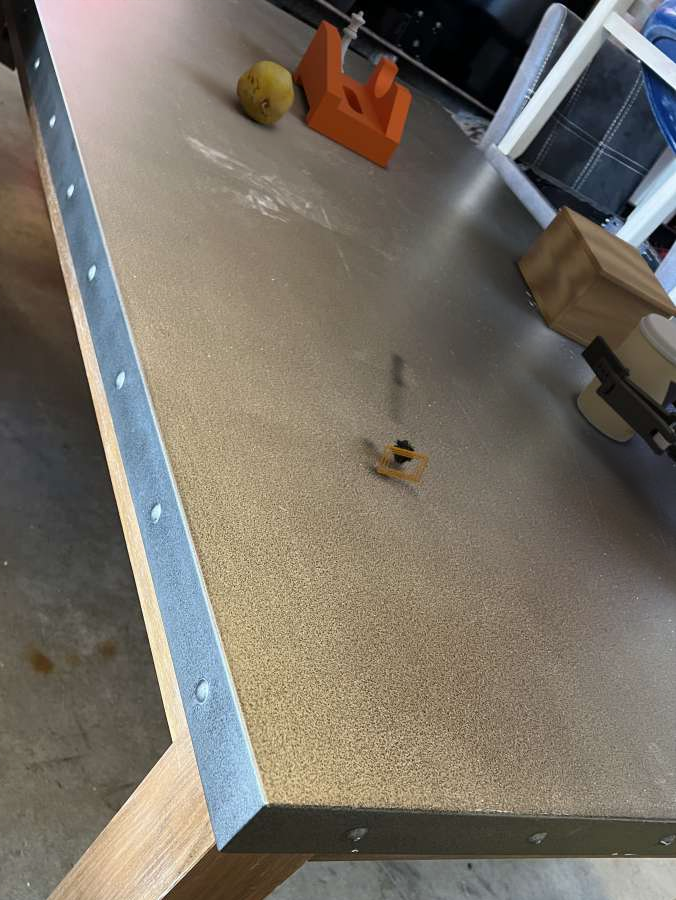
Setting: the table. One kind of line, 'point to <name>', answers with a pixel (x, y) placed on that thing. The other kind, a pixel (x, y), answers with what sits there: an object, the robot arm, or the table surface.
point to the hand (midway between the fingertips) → (629, 360)
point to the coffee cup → (637, 374)
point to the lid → (618, 261)
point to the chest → (579, 290)
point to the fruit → (266, 92)
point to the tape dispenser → (352, 99)
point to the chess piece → (351, 32)
